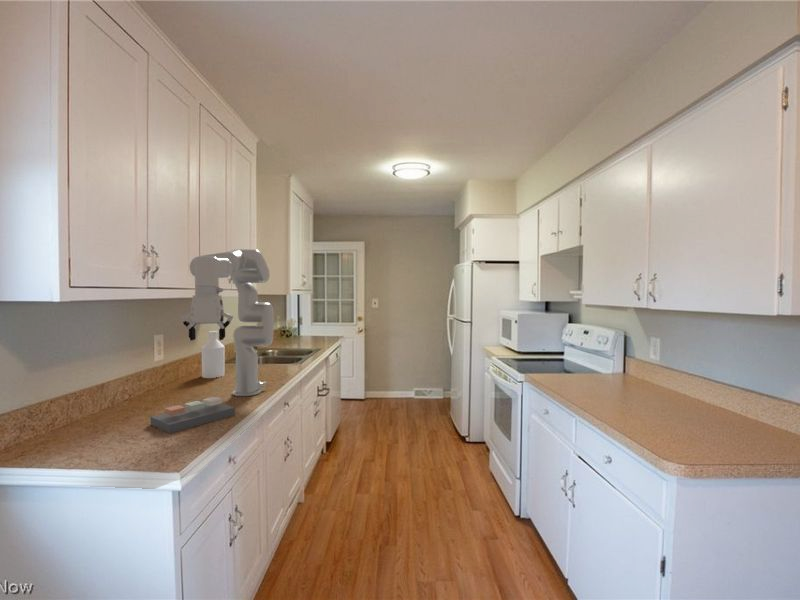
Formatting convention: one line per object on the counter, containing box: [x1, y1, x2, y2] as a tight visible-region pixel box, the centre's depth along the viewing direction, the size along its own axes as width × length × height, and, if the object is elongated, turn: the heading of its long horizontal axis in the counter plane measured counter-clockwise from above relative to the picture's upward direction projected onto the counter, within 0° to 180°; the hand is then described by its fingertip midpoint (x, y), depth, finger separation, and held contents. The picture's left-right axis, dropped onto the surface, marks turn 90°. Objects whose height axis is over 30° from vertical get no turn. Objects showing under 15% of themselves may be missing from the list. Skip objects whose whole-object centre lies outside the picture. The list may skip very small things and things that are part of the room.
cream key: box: [202, 396, 223, 406], centre depth 153 cm, size 5×5×2 cm
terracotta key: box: [163, 404, 185, 416], centre depth 142 cm, size 5×5×2 cm
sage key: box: [183, 400, 204, 411], centre depth 147 cm, size 5×5×2 cm
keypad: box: [150, 403, 236, 434], centre depth 148 cm, size 24×14×3 cm, turn 145°
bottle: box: [200, 330, 226, 379], centre depth 222 cm, size 12×12×25 cm
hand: (207, 339), depth 140 cm, fingers open, 9 cm apart
